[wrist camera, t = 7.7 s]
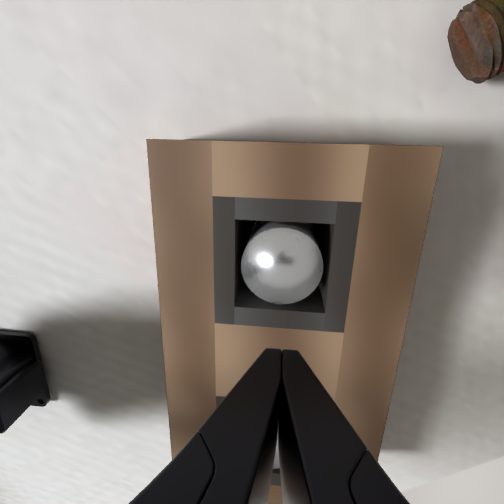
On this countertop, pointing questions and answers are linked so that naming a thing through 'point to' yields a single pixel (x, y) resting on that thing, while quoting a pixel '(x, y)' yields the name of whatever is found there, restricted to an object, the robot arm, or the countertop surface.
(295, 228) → the peg short
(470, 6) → the bolt
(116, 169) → the countertop surface
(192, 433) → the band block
